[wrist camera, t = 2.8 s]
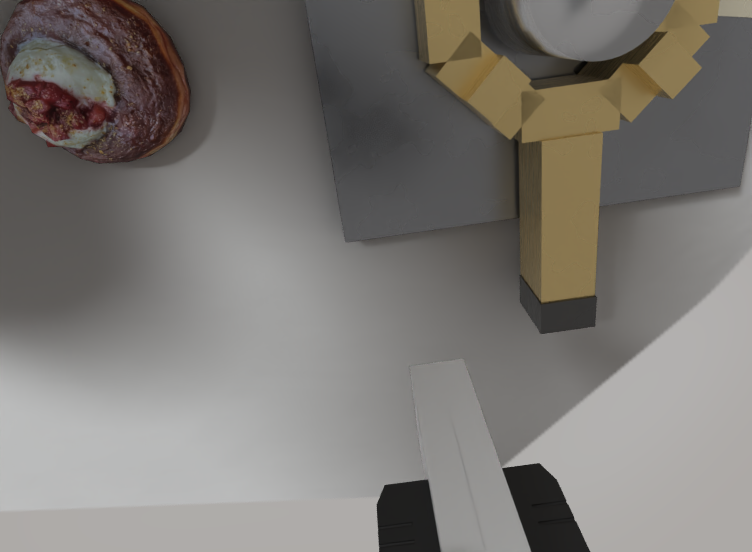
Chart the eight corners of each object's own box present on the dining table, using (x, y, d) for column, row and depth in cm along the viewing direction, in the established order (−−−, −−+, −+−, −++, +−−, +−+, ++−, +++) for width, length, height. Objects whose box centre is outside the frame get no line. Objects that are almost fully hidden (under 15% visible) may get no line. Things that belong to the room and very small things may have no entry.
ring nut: (400, -156, 20) (413, -200, 16) (694, -199, 19) (778, -255, 16) (442, 312, 28) (457, 356, 24) (646, 283, 28) (694, 323, 24)
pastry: (10, 132, 25) (-65, 155, 20) (14, -45, 22) (-72, -65, 17) (182, 179, 26) (147, 210, 22) (208, 19, 23) (174, 16, 19)
